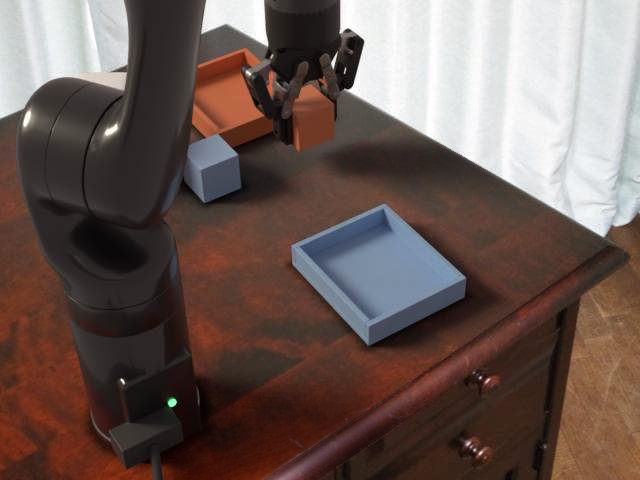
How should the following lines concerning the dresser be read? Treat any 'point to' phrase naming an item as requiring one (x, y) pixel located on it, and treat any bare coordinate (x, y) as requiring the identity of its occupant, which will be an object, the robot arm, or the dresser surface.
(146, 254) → the robot arm
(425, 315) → the blue tray
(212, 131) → the clay tray
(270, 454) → the dresser surface
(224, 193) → the blue block
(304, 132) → the clay block
